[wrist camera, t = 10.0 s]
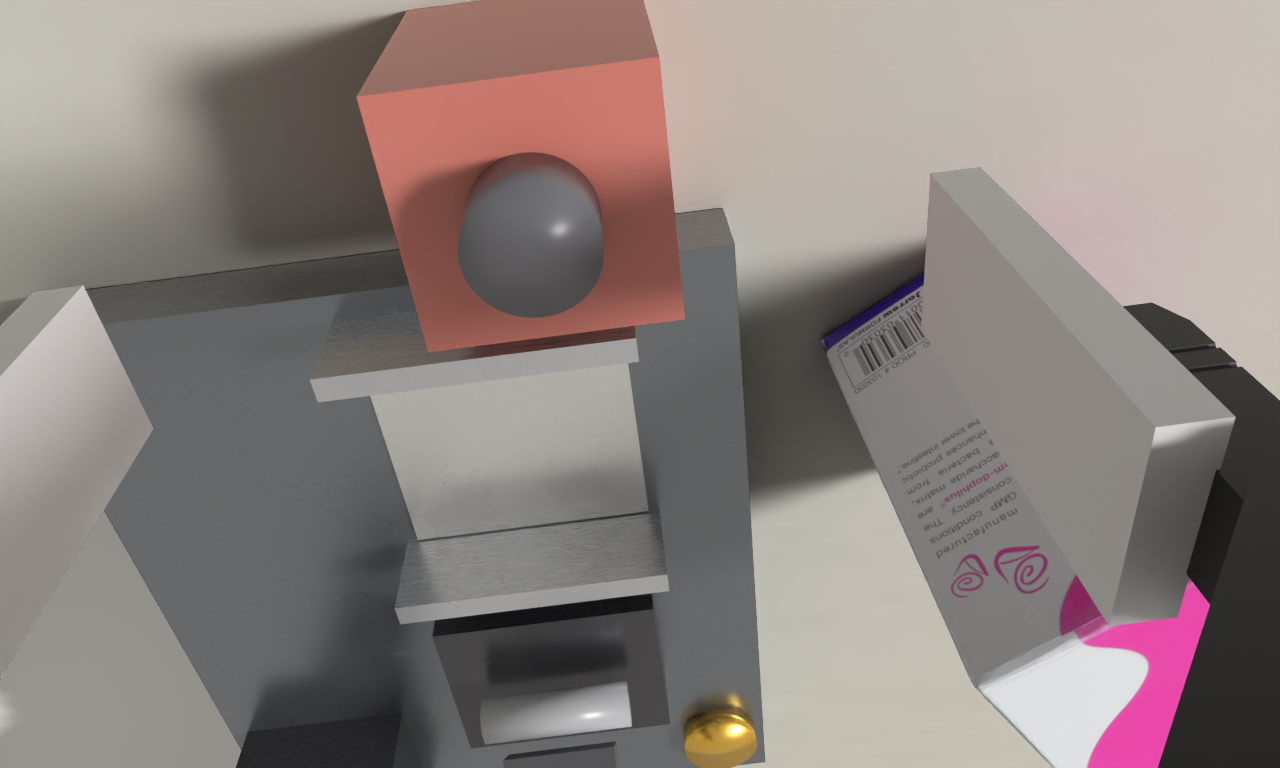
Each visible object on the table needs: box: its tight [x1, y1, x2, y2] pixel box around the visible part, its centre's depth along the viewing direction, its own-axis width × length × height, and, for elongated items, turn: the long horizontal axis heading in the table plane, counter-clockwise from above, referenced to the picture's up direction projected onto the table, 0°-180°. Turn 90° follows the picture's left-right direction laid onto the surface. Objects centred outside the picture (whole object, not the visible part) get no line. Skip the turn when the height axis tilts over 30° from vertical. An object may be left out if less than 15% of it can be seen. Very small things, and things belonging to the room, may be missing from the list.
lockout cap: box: [356, 0, 685, 352], centre depth 19 cm, size 5×5×8 cm
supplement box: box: [821, 274, 1210, 768], centre depth 22 cm, size 6×6×12 cm
